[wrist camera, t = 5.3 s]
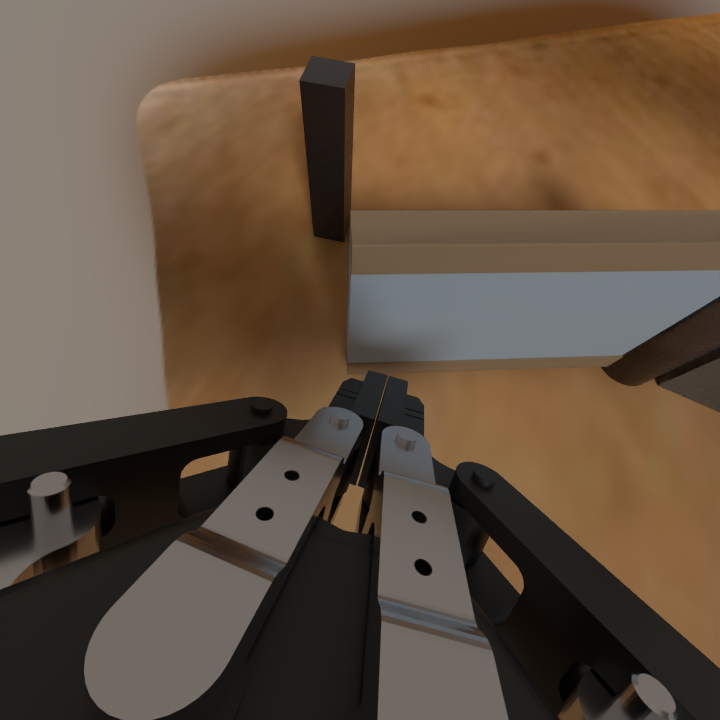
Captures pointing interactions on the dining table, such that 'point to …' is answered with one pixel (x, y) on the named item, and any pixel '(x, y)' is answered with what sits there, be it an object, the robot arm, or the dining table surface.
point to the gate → (521, 285)
